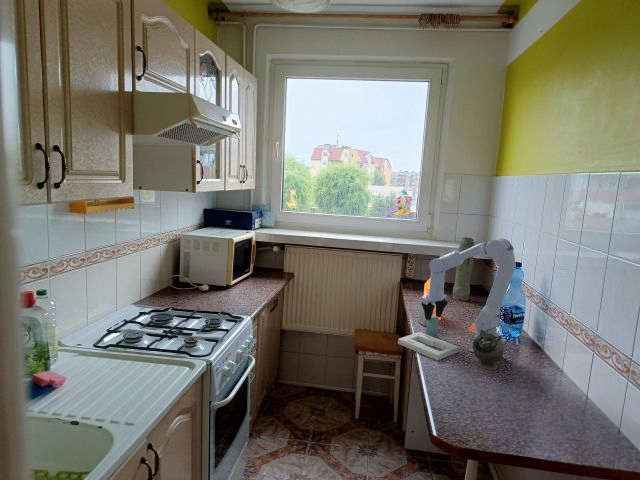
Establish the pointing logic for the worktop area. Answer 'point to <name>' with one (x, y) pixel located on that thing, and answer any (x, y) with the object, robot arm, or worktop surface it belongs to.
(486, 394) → the worktop surface
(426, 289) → the orange juice
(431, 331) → the teal peg
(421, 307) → the skincare box
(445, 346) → the white rectangular frame
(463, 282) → the thermos
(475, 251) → the robot arm
